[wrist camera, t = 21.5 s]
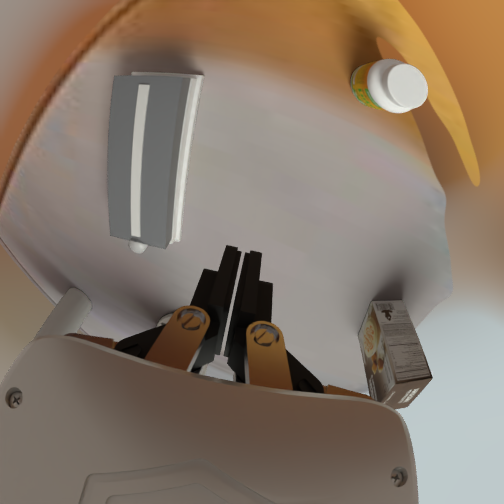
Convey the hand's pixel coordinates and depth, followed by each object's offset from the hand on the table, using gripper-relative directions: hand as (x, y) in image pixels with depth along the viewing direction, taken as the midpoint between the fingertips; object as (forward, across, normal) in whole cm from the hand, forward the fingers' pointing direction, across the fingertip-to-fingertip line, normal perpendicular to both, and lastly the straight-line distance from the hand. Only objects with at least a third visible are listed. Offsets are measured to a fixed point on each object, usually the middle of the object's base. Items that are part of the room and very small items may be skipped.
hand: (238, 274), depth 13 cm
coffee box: (+22, -26, +20) cm, 39 cm away
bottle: (+22, +32, +33) cm, 51 cm away
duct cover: (+18, +13, +2) cm, 23 cm away
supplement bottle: (+21, -10, -13) cm, 27 cm away
